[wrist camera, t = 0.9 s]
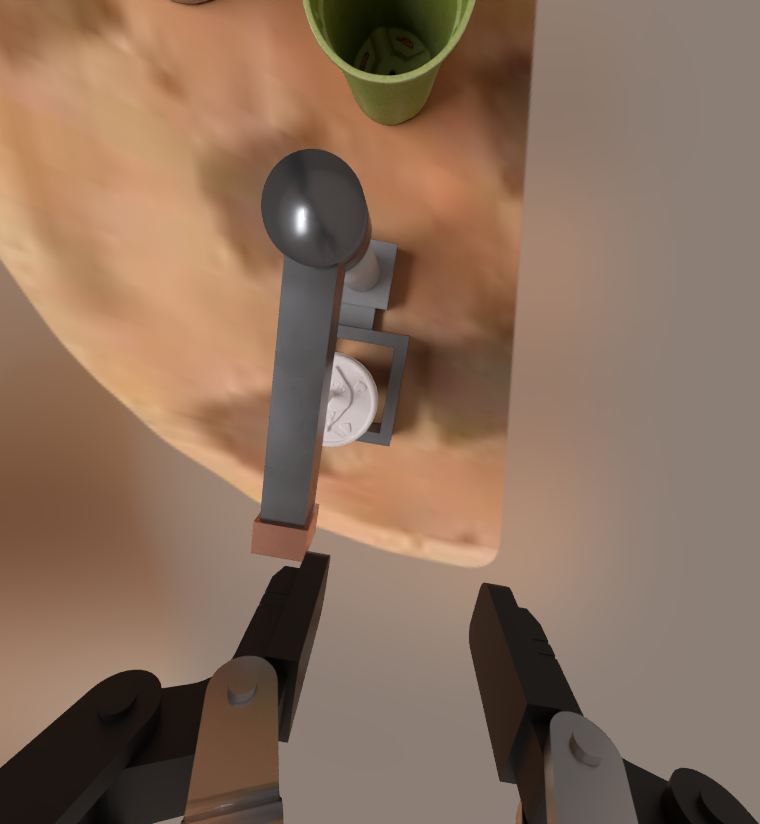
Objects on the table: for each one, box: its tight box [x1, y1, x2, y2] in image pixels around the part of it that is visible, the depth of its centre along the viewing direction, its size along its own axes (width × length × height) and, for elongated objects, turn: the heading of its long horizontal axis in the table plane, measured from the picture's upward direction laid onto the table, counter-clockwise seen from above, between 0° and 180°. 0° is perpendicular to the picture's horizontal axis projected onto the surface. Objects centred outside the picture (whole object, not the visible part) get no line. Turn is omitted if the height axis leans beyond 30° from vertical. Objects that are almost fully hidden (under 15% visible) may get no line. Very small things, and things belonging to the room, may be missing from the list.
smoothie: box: [322, 352, 378, 447], centre depth 26 cm, size 6×6×14 cm
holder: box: [337, 240, 409, 446], centre depth 25 cm, size 16×9×16 cm, turn 170°
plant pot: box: [303, 0, 476, 125], centre depth 23 cm, size 9×9×9 cm
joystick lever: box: [251, 149, 372, 562], centre depth 15 cm, size 16×4×3 cm, turn 171°
